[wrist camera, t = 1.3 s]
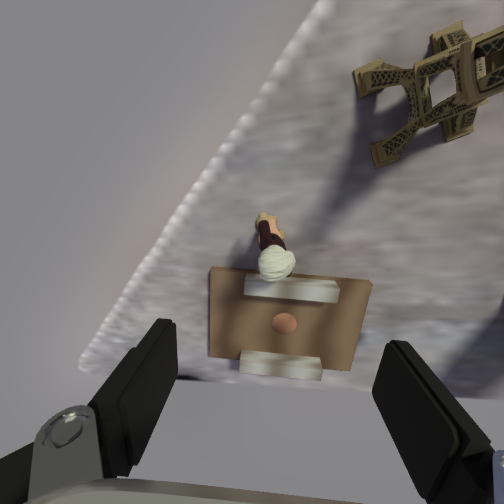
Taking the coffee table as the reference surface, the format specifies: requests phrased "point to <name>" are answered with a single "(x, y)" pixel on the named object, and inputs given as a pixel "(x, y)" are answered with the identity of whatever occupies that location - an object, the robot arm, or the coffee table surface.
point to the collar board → (286, 322)
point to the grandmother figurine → (273, 250)
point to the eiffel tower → (417, 89)
